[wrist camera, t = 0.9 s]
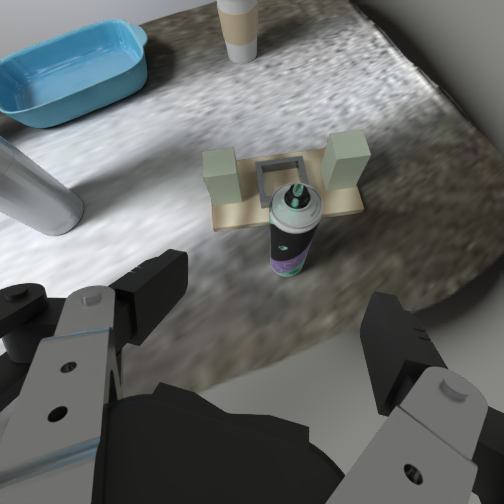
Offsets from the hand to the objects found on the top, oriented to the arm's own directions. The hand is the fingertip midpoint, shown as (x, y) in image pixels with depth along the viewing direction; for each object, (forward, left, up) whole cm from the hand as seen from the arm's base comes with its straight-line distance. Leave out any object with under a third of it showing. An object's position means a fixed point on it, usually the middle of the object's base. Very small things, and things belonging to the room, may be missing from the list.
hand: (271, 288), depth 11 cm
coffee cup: (-49, +43, -29) cm, 71 cm away
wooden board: (-16, +20, -29) cm, 39 cm away
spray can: (-6, +10, -29) cm, 31 cm away
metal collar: (-16, +20, -28) cm, 38 cm away
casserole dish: (-70, +11, -29) cm, 77 cm away
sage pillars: (-16, +20, -28) cm, 38 cm away
